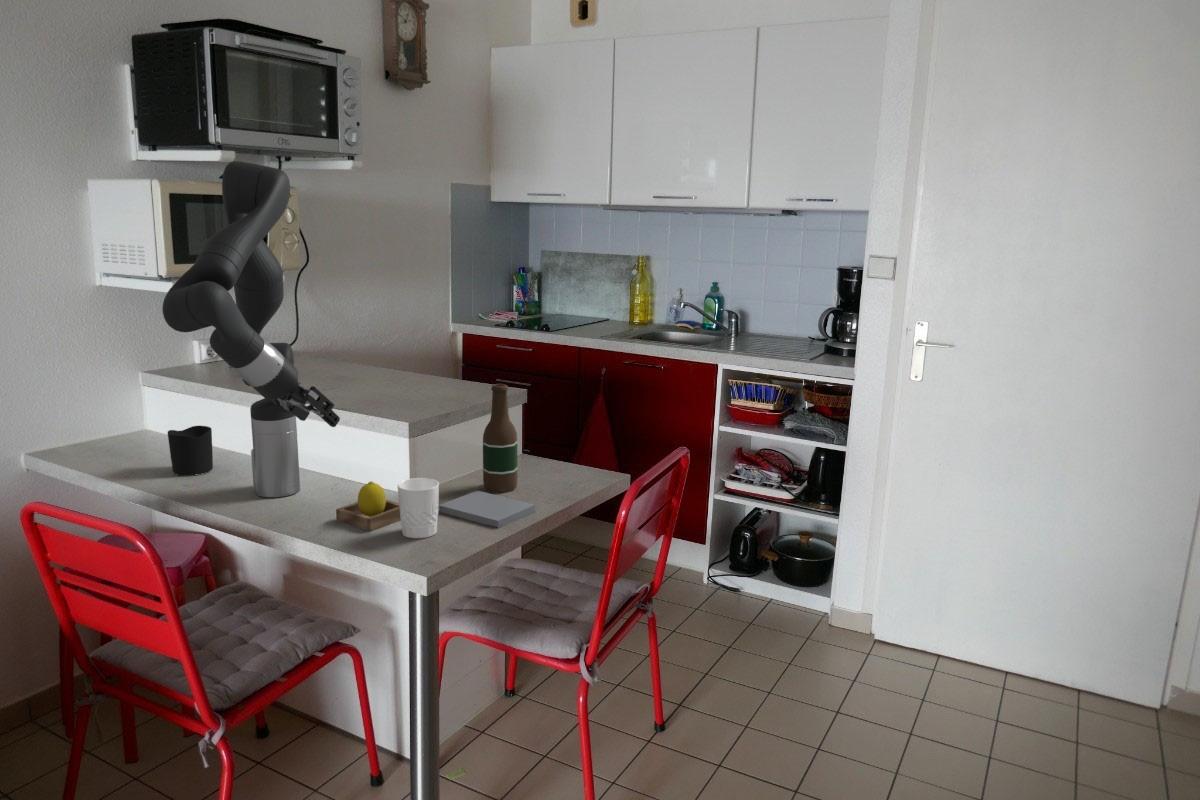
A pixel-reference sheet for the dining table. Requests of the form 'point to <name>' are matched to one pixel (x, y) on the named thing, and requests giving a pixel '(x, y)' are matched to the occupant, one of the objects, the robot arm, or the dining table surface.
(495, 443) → the beer bottle
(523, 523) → the dining table surface
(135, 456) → the dining table surface
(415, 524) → the white cup
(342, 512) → the walnut collar
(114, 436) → the dining table surface
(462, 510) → the gray board
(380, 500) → the lemon
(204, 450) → the pen holder
